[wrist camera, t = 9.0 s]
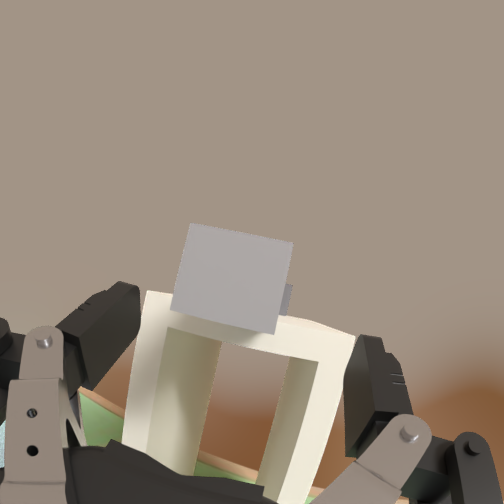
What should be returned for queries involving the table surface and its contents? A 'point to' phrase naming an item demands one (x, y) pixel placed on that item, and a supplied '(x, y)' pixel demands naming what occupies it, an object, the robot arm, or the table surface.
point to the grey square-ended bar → (233, 278)
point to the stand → (201, 381)
